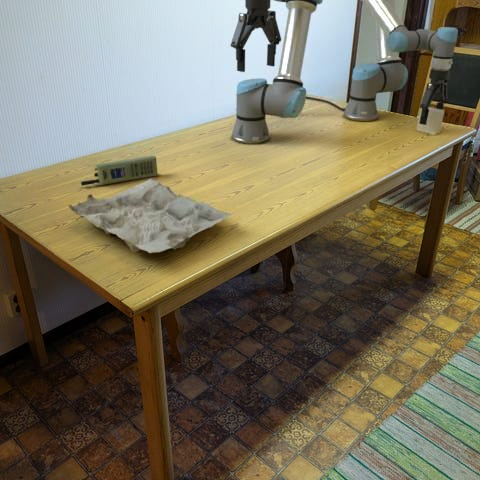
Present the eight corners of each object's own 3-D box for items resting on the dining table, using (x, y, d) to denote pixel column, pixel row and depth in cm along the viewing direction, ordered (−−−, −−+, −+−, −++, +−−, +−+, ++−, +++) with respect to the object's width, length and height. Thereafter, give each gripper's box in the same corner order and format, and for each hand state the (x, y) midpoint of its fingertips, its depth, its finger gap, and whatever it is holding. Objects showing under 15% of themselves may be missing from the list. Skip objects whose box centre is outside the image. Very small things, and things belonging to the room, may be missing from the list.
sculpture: (148, 192, 160) (63, 221, 139) (147, 174, 157) (60, 201, 136) (236, 233, 139) (152, 274, 118) (238, 213, 136) (151, 251, 115)
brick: (434, 134, 214) (439, 112, 209) (416, 130, 219) (420, 108, 214) (439, 132, 216) (444, 110, 212) (421, 128, 222) (425, 106, 217)
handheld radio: (158, 176, 170) (83, 189, 160) (155, 173, 172) (80, 186, 162) (156, 157, 167) (79, 169, 157) (153, 154, 169) (77, 166, 159)
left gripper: (236, -4, 140) (236, 75, 151) (294, -7, 155) (290, 65, 166) (218, -5, 145) (219, 71, 155) (276, -8, 160) (273, 62, 171)
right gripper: (434, 74, 195) (424, 128, 206) (462, 66, 210) (451, 117, 221) (417, 71, 200) (407, 124, 210) (445, 63, 215) (435, 114, 225)
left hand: (256, 68), depth 161 cm, fingers open, 13 cm apart
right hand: (430, 121), depth 215 cm, fingers open, 12 cm apart
